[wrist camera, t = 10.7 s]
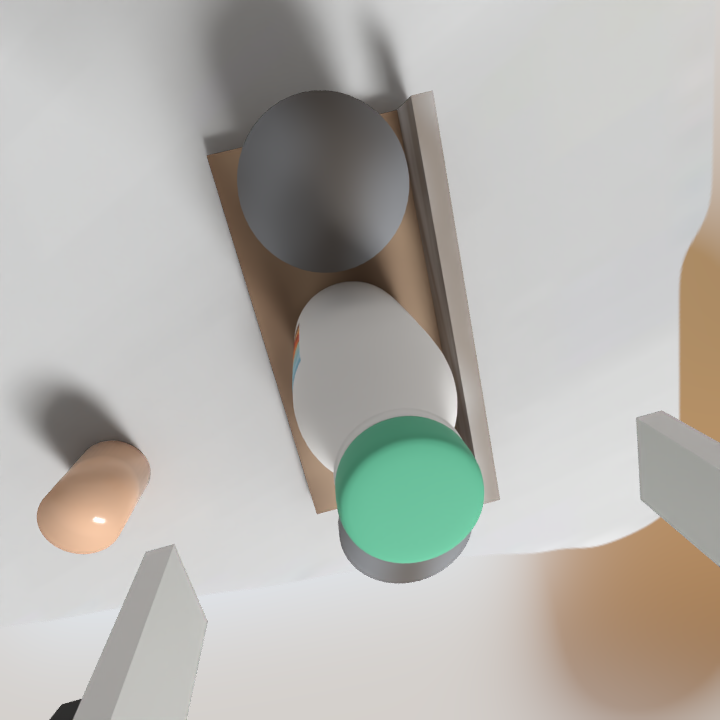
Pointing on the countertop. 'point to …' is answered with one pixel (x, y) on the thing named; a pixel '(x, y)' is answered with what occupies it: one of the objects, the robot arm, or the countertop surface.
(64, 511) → the peach rounded cylinder
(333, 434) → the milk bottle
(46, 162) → the countertop surface
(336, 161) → the rack
